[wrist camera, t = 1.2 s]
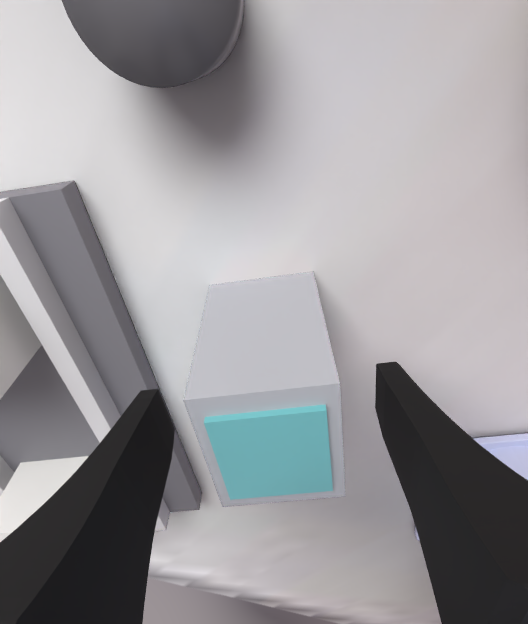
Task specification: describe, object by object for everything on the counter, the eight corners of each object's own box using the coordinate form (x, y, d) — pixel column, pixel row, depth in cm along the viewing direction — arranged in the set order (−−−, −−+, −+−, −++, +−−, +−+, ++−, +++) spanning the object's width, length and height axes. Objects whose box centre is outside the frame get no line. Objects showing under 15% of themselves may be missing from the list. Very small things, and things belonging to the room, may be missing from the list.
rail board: (201, 492, 22) (189, 580, 19) (23, 508, 23) (-22, 595, 20) (74, 180, 13) (-6, 233, 9) (-227, 227, 13) (-416, 293, 10)
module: (321, 369, 17) (346, 502, 12) (233, 379, 18) (222, 513, 12) (313, 270, 15) (341, 388, 9) (209, 284, 15) (181, 406, 10)
